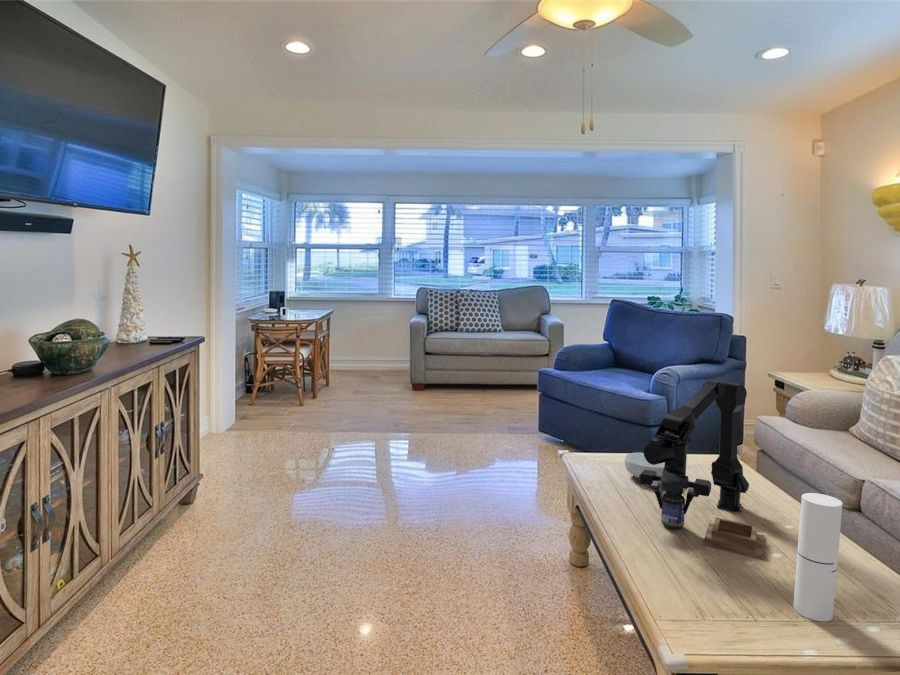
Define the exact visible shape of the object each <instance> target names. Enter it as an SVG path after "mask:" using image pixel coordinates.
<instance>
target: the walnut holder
mask: <svg viewBox="0 0 900 675" xmlns="http://www.w3.org/2000/svg"><path fill="white" fill-rule="evenodd" d="M714 518H715V519H714V522H713V523H712V524H711V523H708V526H707V529H706V532H705V535H704V539H703V541H702V546H705V547H709V548H712V549H717V550H722V551H725V552H731V553H736V554H739V555H744V556H749V557H750V558H751V557H752V558H757V559H762V560H763V558H764V545H765V535H764V534H760V533H758V526H757V525H755V524H751V523H747V522H745V523H744V522H740V521H736V520H731V519H725V518H720V517H714Z"/></svg>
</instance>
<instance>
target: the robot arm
mask: <svg viewBox="0 0 900 675" xmlns="http://www.w3.org/2000/svg"><path fill="white" fill-rule="evenodd" d="M747 392H748V391H747V389H746V387H745V386H744V384H740V383H735V382H728V381H716V380H711V379H708V380H705V381H704V382H703V385H702V386H701V388H699V389H698V391H697V392H696V393H695V394H694V395H693V396H691V398H689V399H688V400H687V401H686V402H685V404H684V405H683V406H681V407H679V408H675V409H673V410H671V411H669V412H668V413H666V414H665V415H664V417H663V419H662V421H661V422H660V424H659V426H658V428H657V430H656V432H655V434H654V438H652V439H650V440H649V443H648V444H647V445H645V447H644V449H643V453H644V457H645V459H646V461H647V462H648V463H650V464H652V465H656V464H660V463H664V462H665V465H664V470H663V472H662V476H657V473H656V471H650V470H643V471H642V472H641V474H640V475H639V479H638V484H639V485H645V486H648V488H649V489H651V490H652V491H653V492H654V494H655V496H656V499H657V503H658V507H659V509H660V510H662V496H663V495H664V493H663V492H666V491H671V492H674V493H679V492H680V489H683V490H687V493H686V497H685V498H686V499H685V508H684V515H686V514H687V511H688V509H689V507H690V504H691V503H692V501H693V499H694V498H699V496H703V497H709V496H710V494H711V491H712V482H711V481H710V480H708V479H701V478H696V479H695V481H691V480H689V476H688V475H686V474H687V460H688V459H687V457H688V455H687V454H688V444H689V443H692V441H693V440H692V438H691V437H690V435H691V434H692V433H693V431H694V430H695V428H696V427H697V426H696V423H697V419H698V418H699V417H701V415H702V414H703V413H704V412H705V411H706V410H707V408H709V407H710V405H712V404H713V402H714V401H715V404H716V405H717V407H718V409H719V411H720V414H719V416H720V419H719V422H720V423H719V426H720V427H719V449H718V451H719V452H718V453H719V454H718V457H717V458H716V459H715V461H712V462H711V472H710V474H711V476H712V481H713V485H714V486H718V487H720V488H719V489H720V490H719V499H718V501H717V504H716V508H717V509H721V510H727V511H733V512H737V513H740V512H741V510H742V505H743V504H742V503H741V494H746V493H747V492H748V490H749V487H750V483H749V482H748V481H747V479H746V477H745V476H744V468H743V466H742V463H741V462H740V460H739V458H738V440H739V439H738V438H739V415H740V411H741V410H742V408H743V407H744V406H745V404H746V398H747V394H748V393H747Z"/></svg>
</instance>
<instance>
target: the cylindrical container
mask: <svg viewBox="0 0 900 675" xmlns="http://www.w3.org/2000/svg"><path fill="white" fill-rule="evenodd" d="M800 502H801V503H800V514H799V516H800V517H799V529H798V540H797V541H798V542H797V553H796V554H797V555H796V567H795V569H796V570H795V578H794V579H795V580H794V582H795V583H794V593H793V605H792V606H793V609H794V610H795V612H796V613H798V614H799V615H801V616H803V617H805V618H807V619H810V620H812V621H818V622H830V621H832V620H833V618H834V608H835V597H836V588H837V586H836V584H837V574H838V561H839V549H840V548H839V547H840V538H841V526H842V513H843V512H842V511H843V502H842V500H840V499H839V498H836V497H835V496H834V497H833V496H831V495H827V494H823V493H817V492H808V493H806V492H805V493H803V494H801V501H800Z"/></svg>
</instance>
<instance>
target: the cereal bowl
mask: <svg viewBox="0 0 900 675" xmlns="http://www.w3.org/2000/svg"><path fill="white" fill-rule="evenodd" d="M664 465H665V462H664V463H660V464H656V465H652V464H650V463H648V462H647V461H646V459H645V457H644V452H632V453H631V452H630V453H628V454H626V455H625V456H624V466H625V469H626V471H627V472H628V473H630V474H631V475H632V476H634V477H636V478H637V479H638V480H639V475H640V474H641V472H642V471H643V470H650V471H656V473H657V476H662V472H663V470H664Z"/></svg>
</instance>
